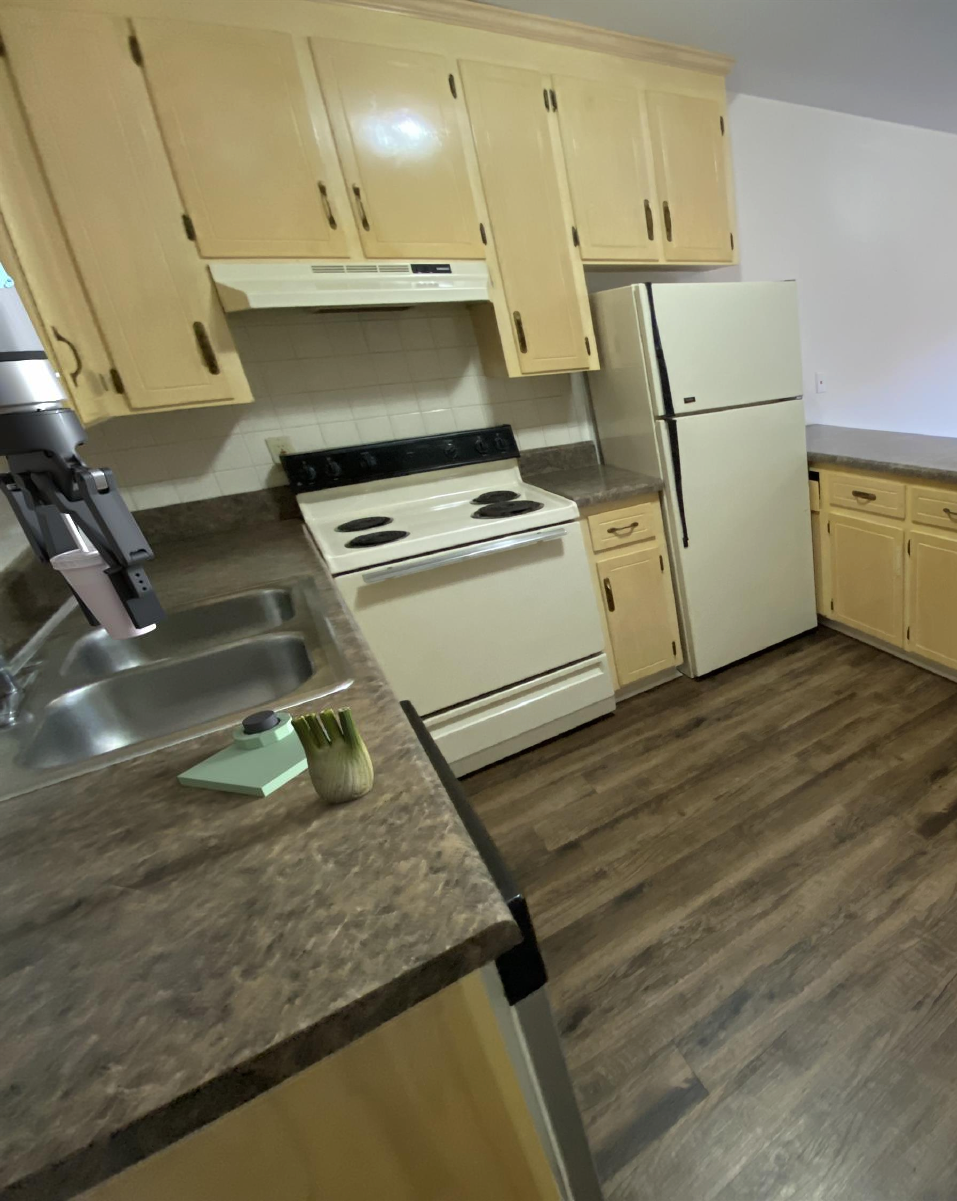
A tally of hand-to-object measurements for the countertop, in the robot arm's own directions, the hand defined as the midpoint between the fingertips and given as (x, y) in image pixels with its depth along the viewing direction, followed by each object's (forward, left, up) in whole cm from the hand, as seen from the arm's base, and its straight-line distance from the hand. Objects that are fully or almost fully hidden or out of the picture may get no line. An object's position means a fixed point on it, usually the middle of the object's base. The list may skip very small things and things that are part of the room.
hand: (129, 622), depth 73 cm
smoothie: (0, 0, -1) cm, 1 cm away
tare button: (-3, +9, -21) cm, 23 cm away
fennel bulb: (+19, +2, -24) cm, 30 cm away
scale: (+1, +6, -23) cm, 24 cm away
